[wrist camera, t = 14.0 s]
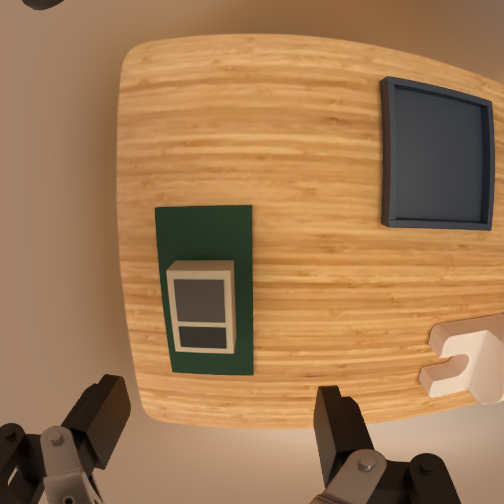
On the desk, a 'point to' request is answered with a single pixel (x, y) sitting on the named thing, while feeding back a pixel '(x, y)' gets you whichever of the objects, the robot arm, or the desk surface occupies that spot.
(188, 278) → the beige rectangular block
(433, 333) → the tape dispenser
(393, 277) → the desk surface
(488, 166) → the tray
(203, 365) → the mat
